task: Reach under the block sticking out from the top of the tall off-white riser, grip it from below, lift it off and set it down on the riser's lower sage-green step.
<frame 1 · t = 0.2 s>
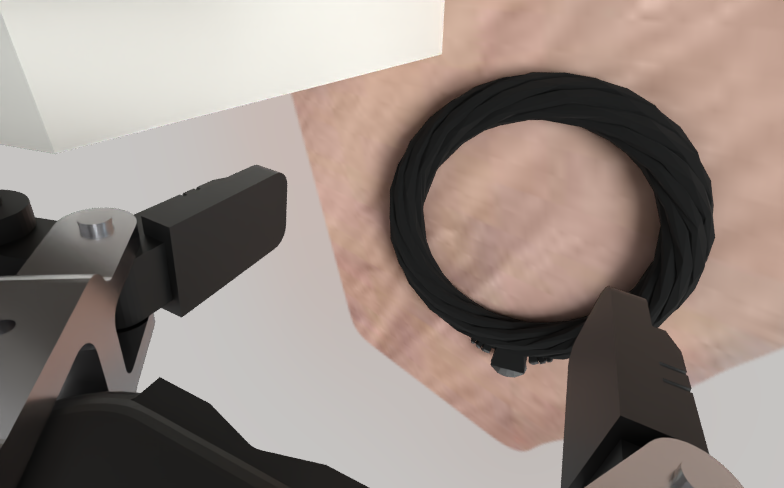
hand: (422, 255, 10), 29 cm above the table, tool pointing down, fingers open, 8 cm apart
cable lock: (529, 236, 41), on the table
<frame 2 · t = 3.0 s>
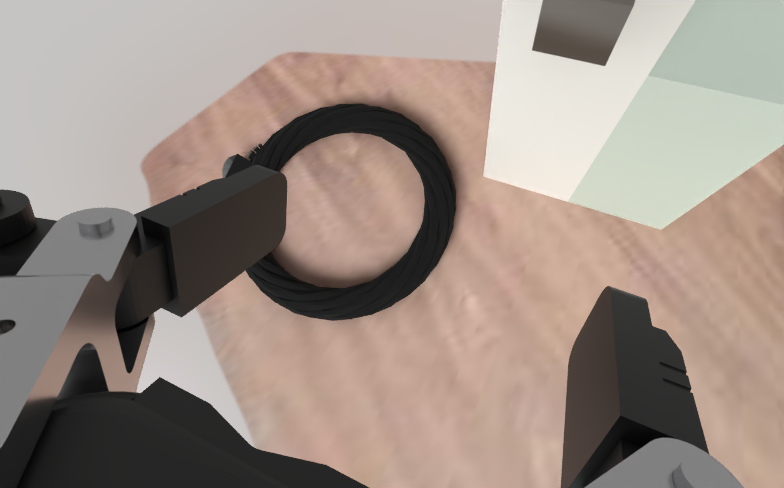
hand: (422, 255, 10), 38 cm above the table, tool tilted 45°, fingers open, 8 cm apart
cable lock: (336, 208, 53), on the table
riser: (537, 152, 51), on the table
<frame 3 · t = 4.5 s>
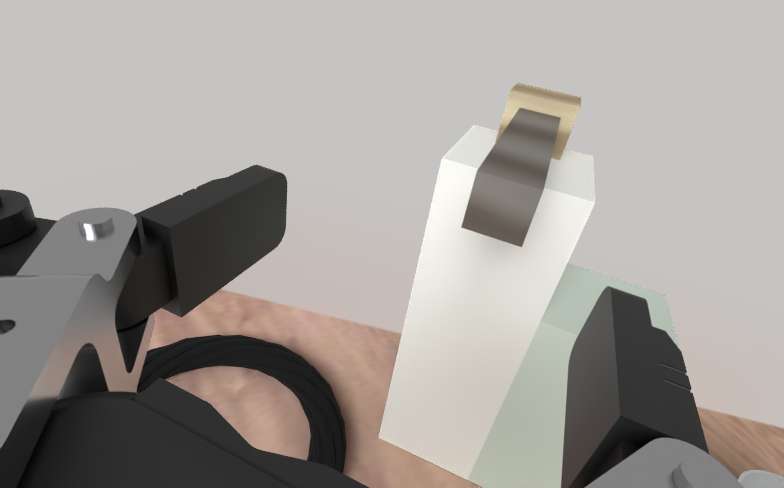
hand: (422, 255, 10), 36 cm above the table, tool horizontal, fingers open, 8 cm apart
cable lock: (193, 451, 42), on the table
riser: (435, 420, 48), on the table
block: (515, 179, 27), point 32 cm above the table, touching riser
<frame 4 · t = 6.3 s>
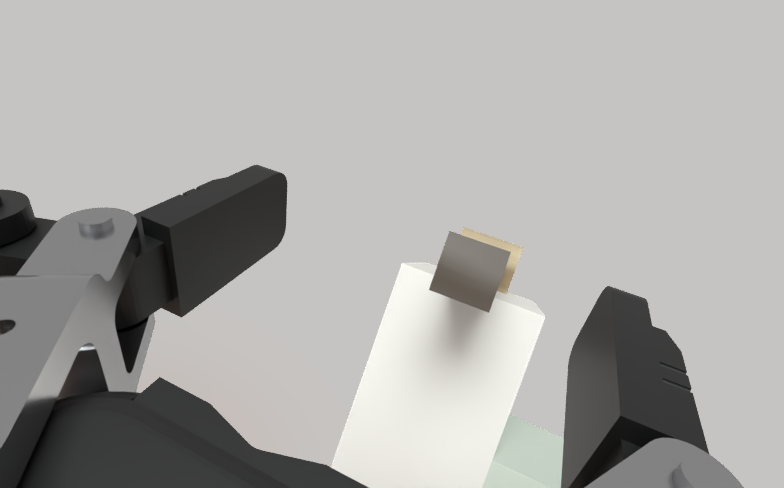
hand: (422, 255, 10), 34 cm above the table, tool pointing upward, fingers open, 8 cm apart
block: (470, 288, 28), point 32 cm above the table, touching riser
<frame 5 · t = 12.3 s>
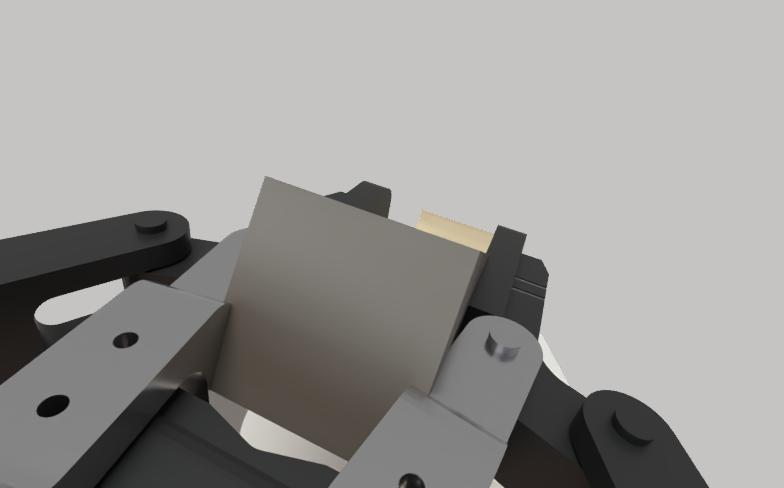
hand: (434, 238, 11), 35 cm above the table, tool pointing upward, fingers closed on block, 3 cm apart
block: (416, 328, 14), point 32 cm above the table, touching gripper, riser
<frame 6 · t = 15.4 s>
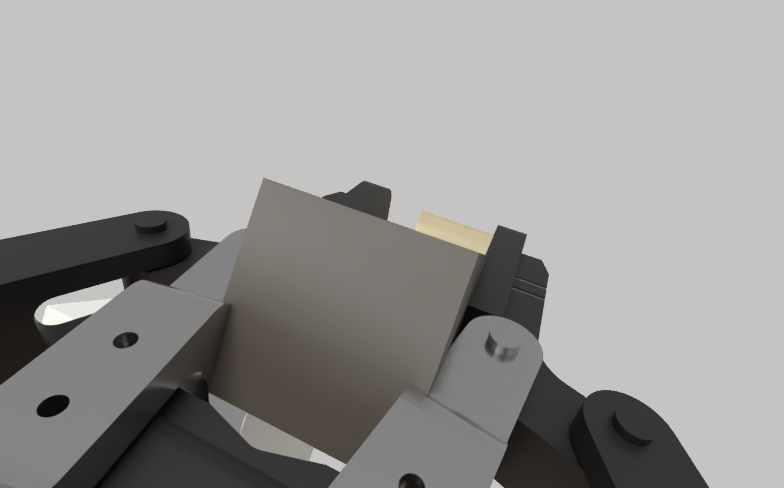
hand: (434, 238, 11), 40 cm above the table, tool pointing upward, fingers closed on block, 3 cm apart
block: (415, 329, 14), point 37 cm above the table, touching gripper
when the fingers open (27 cm above the table, at t = 18.9 s): block drops 2 cm, resting on riser.
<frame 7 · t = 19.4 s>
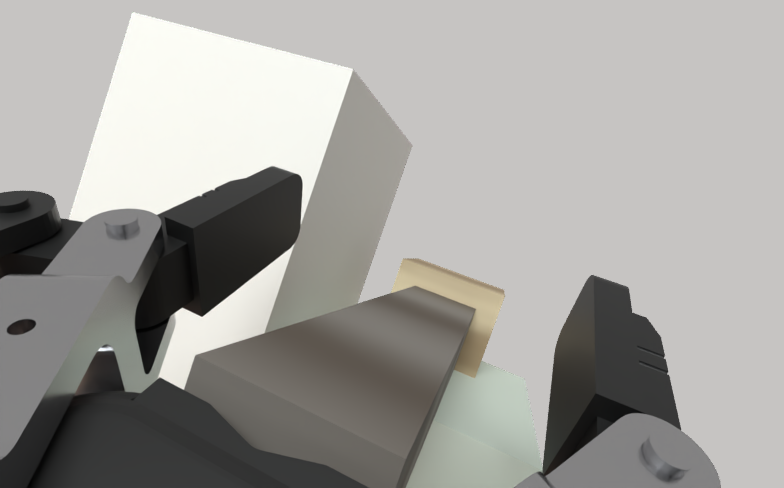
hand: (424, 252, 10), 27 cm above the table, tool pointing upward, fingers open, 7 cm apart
block: (388, 402, 14), point 22 cm above the table, touching riser
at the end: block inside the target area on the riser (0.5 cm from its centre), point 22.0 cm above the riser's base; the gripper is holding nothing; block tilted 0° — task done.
